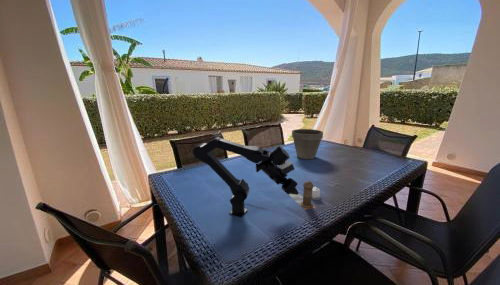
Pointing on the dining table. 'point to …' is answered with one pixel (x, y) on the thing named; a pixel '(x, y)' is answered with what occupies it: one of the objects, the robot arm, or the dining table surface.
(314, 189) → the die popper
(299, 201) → the board
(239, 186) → the robot arm
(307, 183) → the pawn
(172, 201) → the dining table surface
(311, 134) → the plant pot
